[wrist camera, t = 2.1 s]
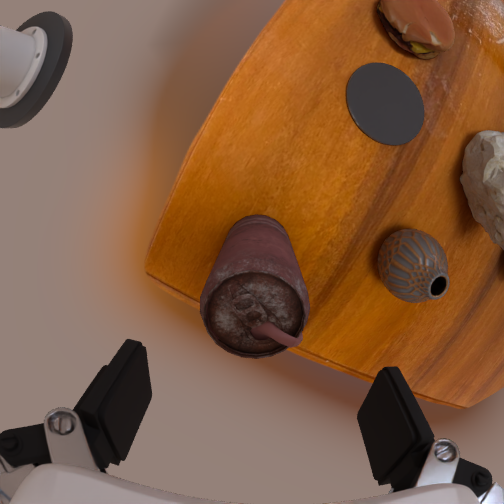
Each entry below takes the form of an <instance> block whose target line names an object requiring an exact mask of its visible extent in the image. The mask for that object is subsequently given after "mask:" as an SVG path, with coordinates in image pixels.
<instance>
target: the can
mask: <svg viewBox="0 0 504 504" xmlns="http://www.w3.org/2000/svg"><path fill="white" fill-rule="evenodd" d="M309 310H310V304H309V297H308V292H307V289H306V286H305V283H304V280H303V277H302V274H301V271H300V268H299V265H298V263H297V260H296V257H295V254H294V251H293V248H292V246H291V243H290V240H289V237H288V235H287V233H286V231H285V229H284V228H283V226H282V225H281V224H279V223H278V222H277V221H276V220H275V219H272V218H270V217H268V216H264V215H252V216H247V217H245V218H243V219H241V220H239V221H238V222H236V224H235V225H234V226H233V227H232V228H231V229H230V231H229V233H228V236H227V238H226V240H225V242H224V244H223V246H222V249H221V251H220V253H219V255H218V257H217V260H216V262H215V264H214V266H213V268H212V271H211V273H210V275H209V277H208V279H207V282H206V284H205V287H204V289H203V291H202V294H201V296H200V313H201V316H202V319H203V322H204V325H205V327H206V330H207V332H208V334H209V335H210V337H211V338H212V339H213V340H214V342H215V343H216V344H217V345H218V346H220V347H221V348H223V349H224V350H226V351H227V352H229V353H232V354H234V355H237V356H240V357H245V358H255V359H257V358H264V357H271V356H273V355H276V354H278V353H280V352H283V351H285V350H286V349H287V348H288V347H290V348H291V347H295V346H298V345H299V344H300V342H301V341H302V339H303V338H302V331H303V328H304V326H305V325H306V323H307V320H308V315H309Z"/></svg>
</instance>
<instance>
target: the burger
mask: <svg viewBox="0 0 504 504" xmlns="http://www.w3.org/2000/svg"><path fill="white" fill-rule="evenodd" d="M377 12H378V15H379V17H380V19H381V22H382V23H383V26H384V27H385V30H386V31H387V32H388V34H389V35H390V37H391V39H392V40H394V41H395V42H396V43H397V44H398V45H399V46H400V47H401V48H403V49H404V50H407V51H409V52H411V53H414V54H415V55H416V56H417V57H418V58H422V59H431V58H434V57H436V56H437V55H438V54H439V53H440V52H445V51H447V50H449V49H450V48H451V46H452V45H453V43H454V40H455V32H454V26H453V23H452V20H451V18H450V16H449V14H448V13H447V11H446V10H445V9H444V8H443V7H442V5H441V4H440V3H439V2H438V1H437V0H380V2H379V4H378V6H377Z"/></svg>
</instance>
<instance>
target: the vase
mask: <svg viewBox="0 0 504 504" xmlns="http://www.w3.org/2000/svg"><path fill="white" fill-rule="evenodd" d="M378 271H379V275H380V278H381V280H382V282H383V284H384V285H385V286H386V288H387V289H388V290H389V291H390V292H391V293H392V294H393V295H394V296H396V297H397V298H399V299H401V300H404V301H407V302H411V303H420V302H424V301H427V300H430V299H439V298H441V297H442V296H443V295H444V294H445V293H446V292H447V290H448V287H449V277H448V264H447V258H446V255H445V253H444V250H443V249H442V247H441V246H440V244H439V243H438V242H437V241H436V240H435V239H434V238H433V237H432V236H431V235H429V234H427V233H425V232H423V231H420V230H417V229H403V230H399V231H397V232H395V233H393V234H391V235H390V236H389V237H388V238H387V239H386V240H385V241H384V243H383V244H382V246H381V248H380V251H379V254H378Z"/></svg>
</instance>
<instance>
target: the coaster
mask: <svg viewBox="0 0 504 504" xmlns="http://www.w3.org/2000/svg"><path fill="white" fill-rule="evenodd" d="M346 101H347V106H348V109H349V112H350V114H351V116H352V118H353V120H354V122H355V123H356V125H357V126H358V127H359V128H360V129H361V130H362V131H363V132H364V133H365V134H366V135H367V136H368V137H370V138H371V139H373V140H375V141H377V142H379V143H382V144H386V145H401V144H405V143H407V142H409V141H411V140H412V139H413V138H414V137H416V135H417V134H418V133H419V131H420V129H421V127H422V125H423V121H424V105H423V101H422V98H421V95H420V93H419V91H418V89H417V87H416V85H415V84H414V83H413V81H412V80H411V79H410V78H409V77H408V76H407V75H406V74H405V73H404V72H402V71H401V70H399V69H397V68H396V67H394V66H391V65H388V64H385V63H369V64H366V65H363V66H361V67H360V68H358V69H357V70H356V71H355V72H354V73H353V74H352V76H351V77H350V79H349V81H348V84H347V89H346Z"/></svg>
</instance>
